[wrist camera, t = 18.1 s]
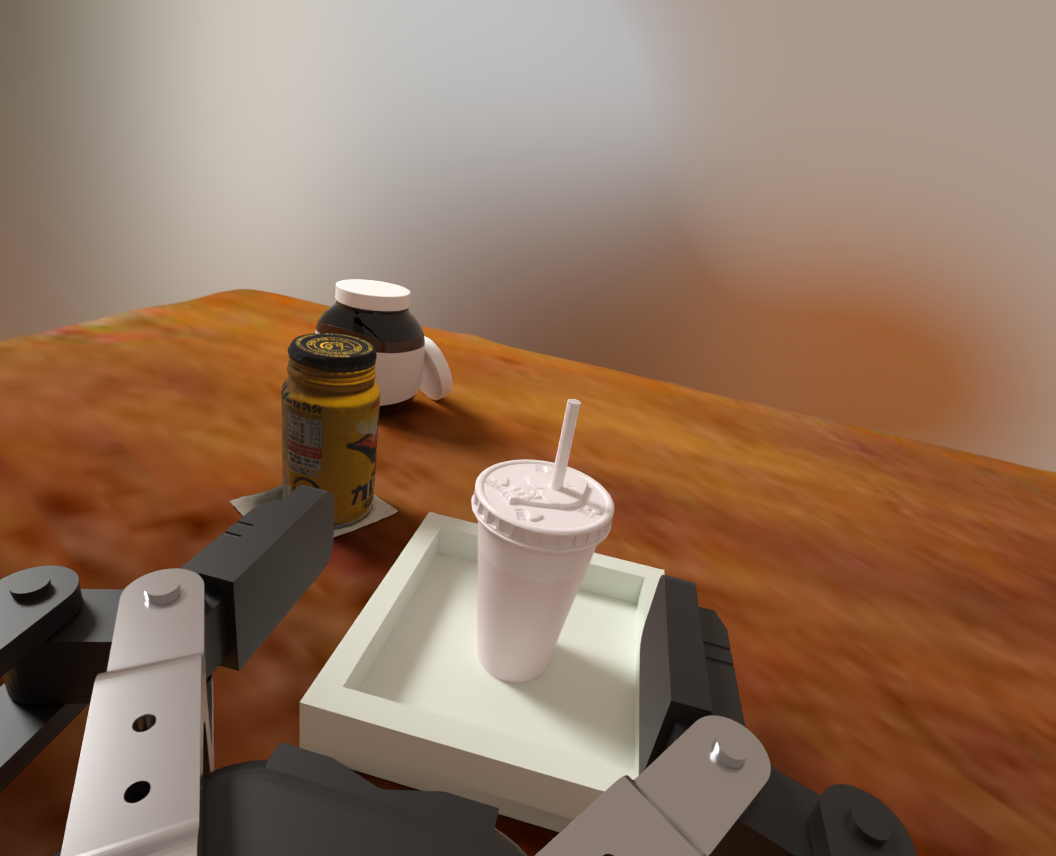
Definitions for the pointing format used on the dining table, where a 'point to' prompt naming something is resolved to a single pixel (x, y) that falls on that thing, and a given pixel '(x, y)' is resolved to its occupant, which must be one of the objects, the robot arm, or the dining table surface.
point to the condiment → (330, 428)
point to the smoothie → (533, 554)
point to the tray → (484, 687)
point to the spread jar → (389, 341)
